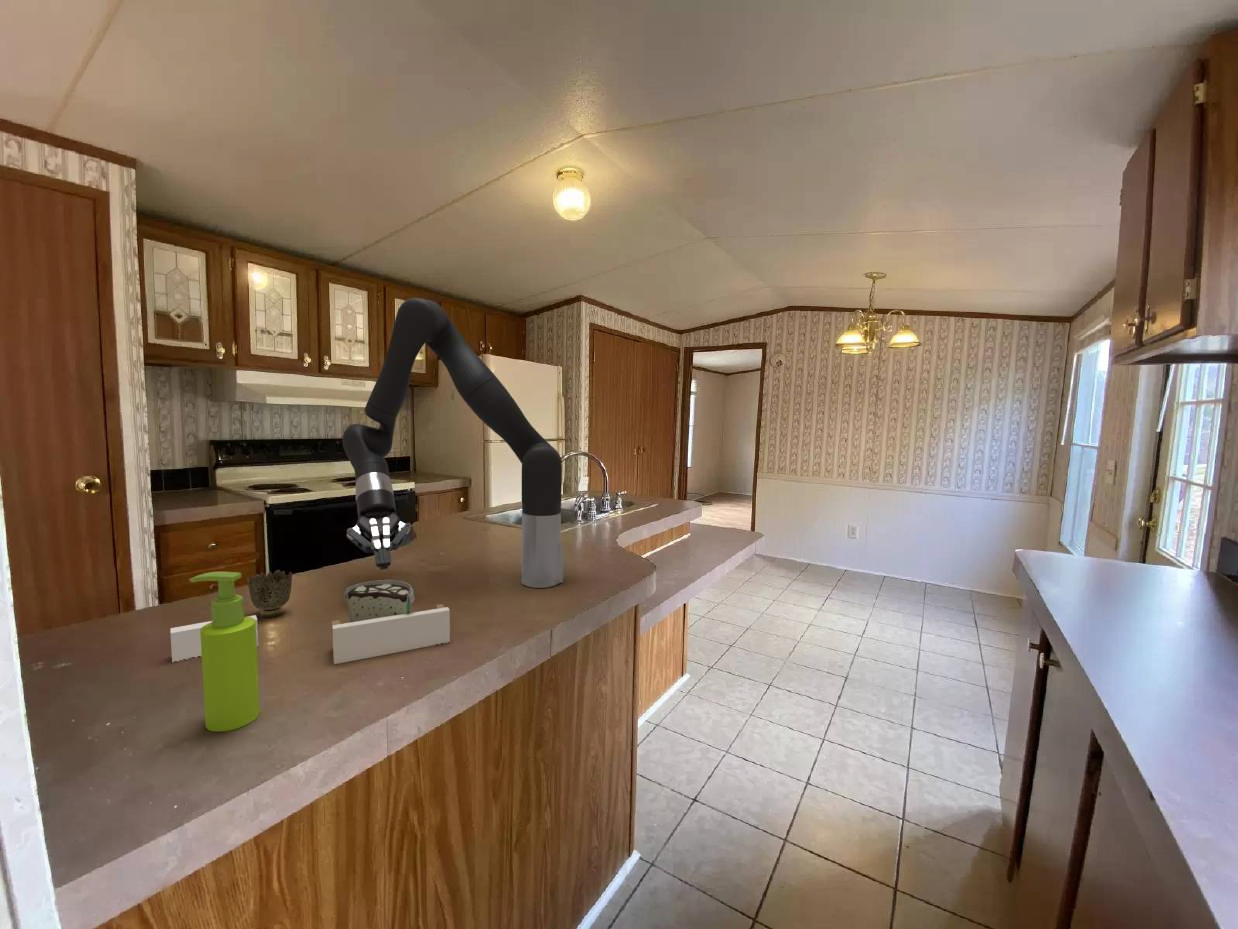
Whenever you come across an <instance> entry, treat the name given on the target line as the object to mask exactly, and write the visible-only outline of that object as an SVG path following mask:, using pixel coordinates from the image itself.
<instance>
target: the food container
mask: <svg viewBox="0 0 1238 929" xmlns="http://www.w3.org/2000/svg"><path fill="white" fill-rule="evenodd" d="M343 600H346V602H347V603H346V604H347V608H348V609H347V610H348V618H349V623H351V622H357V621H363V620H369V619H376V618H382V617H388V616H395V615H401V614H407V613H411V612H410V611H411V605H412V603H414V601H415V593H414V589H413V588H412V585H411V584H410V583H408V582H406V581H401V580H396V579H384V580H383V579H380V580H379V579H377V580H370V581H365V582H360V583H356V584H353V585H351V586H349V587H345V591H344V595H343Z"/></svg>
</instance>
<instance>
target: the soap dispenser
mask: <svg viewBox="0 0 1238 929" xmlns="http://www.w3.org/2000/svg"><path fill="white" fill-rule="evenodd" d="M241 578H242V573H241V572H233V571H210V572H205V573H202V574H198V575H196V576H194V577H192V578H189V579H188V581H189V582H190V583H197V582H204V581H205V582H206V581H208V582H210V581H211V582H217V587H218V596H216V597H215V598H213V599H212V600H211V602H210V607H211V608H210V609H211V613H210V614H211V621H212V622H211V623H208V624H206V625H205V626H203V627H202V628H201V629H200V637H201V654H202V656H201V669H202V682H203V684H202V686H203V699H204V700H203V703H204V704H203V705H204V718H205V719H204V721H205V728H206V729H207V730H209V731H210V732H217V733H220V732H221V733H222V732H230V731H233V730H237V729H239V728H242V727H245V726H246V725H249V724H251V723H252V722H254V721H255V720H257V718H258V717H259V715H260V711H261V710H260V709H261V707H260V690H259V667H258V665H259V664H258V650H257V649H258V647H257V643H256V621H255V619H254V618H252V617H248V616H245V615H244V614H245V612H244V597H243V595H241V594H240V595H239V594H237V593H236V590H235V589H236V588H235V581H237V580H239V579H241Z"/></svg>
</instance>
